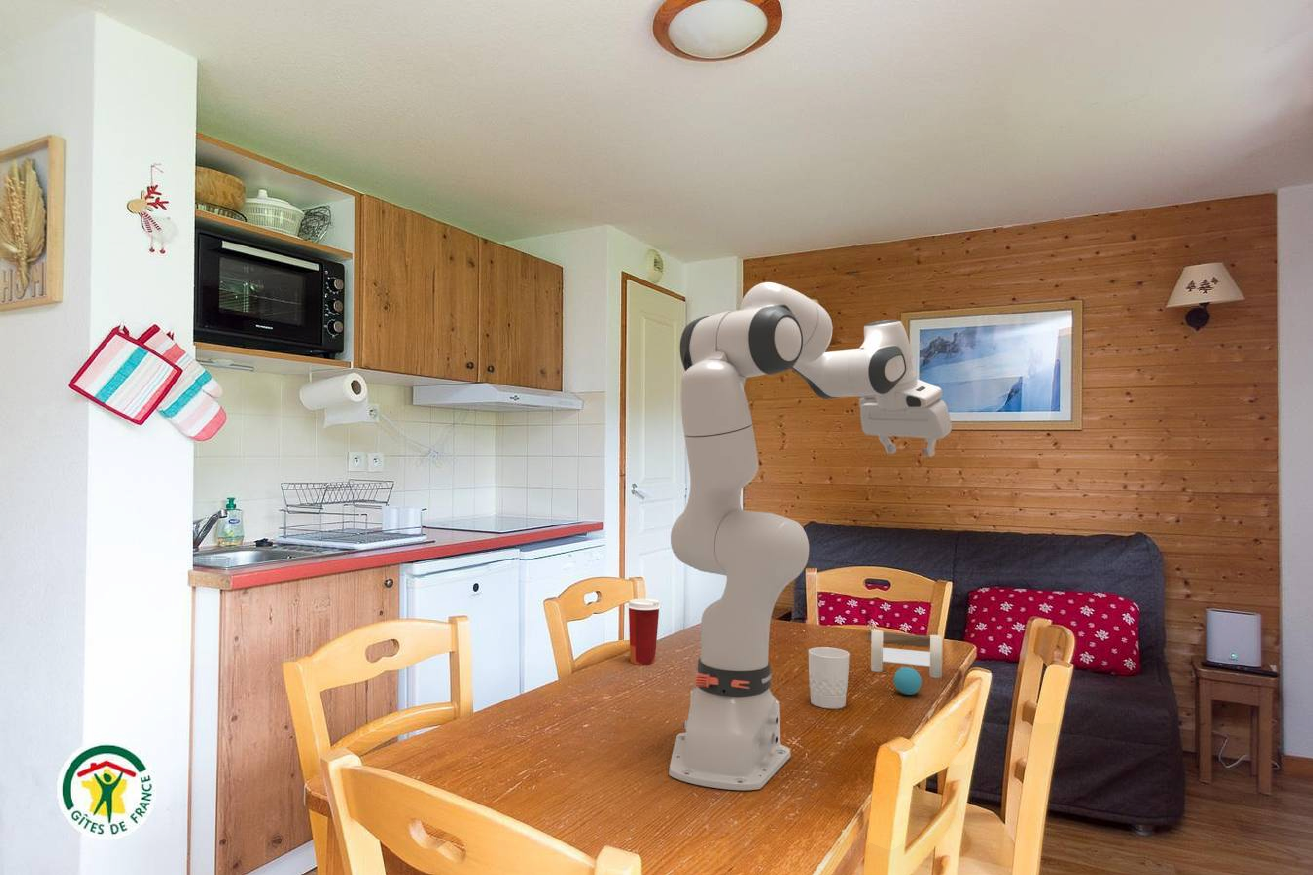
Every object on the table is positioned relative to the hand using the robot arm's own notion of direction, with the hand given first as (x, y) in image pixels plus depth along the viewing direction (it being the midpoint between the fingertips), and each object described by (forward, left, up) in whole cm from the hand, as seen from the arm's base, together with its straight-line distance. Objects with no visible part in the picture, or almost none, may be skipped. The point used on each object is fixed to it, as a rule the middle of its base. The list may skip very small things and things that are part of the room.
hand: (910, 454), depth 162 cm
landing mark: (+25, 0, -49) cm, 55 cm away
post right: (+10, -6, -49) cm, 51 cm away
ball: (-6, 0, -47) cm, 47 cm away
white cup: (-18, +15, -50) cm, 55 cm away
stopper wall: (+39, 0, -49) cm, 63 cm away
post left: (+10, +6, -49) cm, 51 cm away
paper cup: (-4, +58, -50) cm, 76 cm away
